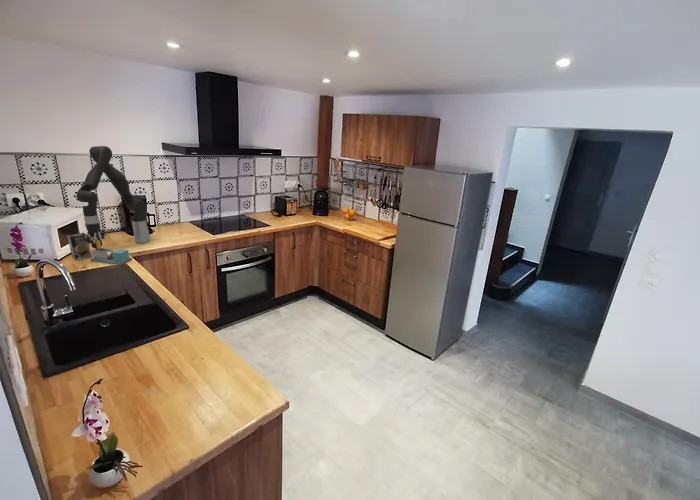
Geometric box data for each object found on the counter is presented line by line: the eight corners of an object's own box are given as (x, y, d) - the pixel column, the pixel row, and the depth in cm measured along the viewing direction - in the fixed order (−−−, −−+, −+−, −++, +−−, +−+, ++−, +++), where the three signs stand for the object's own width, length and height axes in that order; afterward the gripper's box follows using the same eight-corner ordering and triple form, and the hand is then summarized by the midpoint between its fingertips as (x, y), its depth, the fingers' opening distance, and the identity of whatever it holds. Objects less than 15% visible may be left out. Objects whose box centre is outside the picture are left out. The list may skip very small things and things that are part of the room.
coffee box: (75, 260, 223) (70, 237, 218) (72, 258, 227) (66, 235, 221) (92, 257, 230) (87, 234, 225) (88, 254, 234) (83, 232, 228)
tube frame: (90, 261, 224) (88, 250, 221) (104, 255, 233) (101, 245, 231) (119, 265, 220) (117, 254, 217) (131, 259, 229) (130, 249, 227)
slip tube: (95, 256, 226) (91, 240, 222) (99, 254, 229) (96, 239, 226) (111, 258, 224) (108, 243, 220) (115, 256, 227) (112, 241, 223)
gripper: (97, 218, 227) (102, 243, 232) (77, 224, 213) (82, 249, 219) (106, 219, 225) (111, 244, 231) (87, 225, 212) (92, 251, 218)
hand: (97, 247), depth 225 cm, fingers open, 3 cm apart
